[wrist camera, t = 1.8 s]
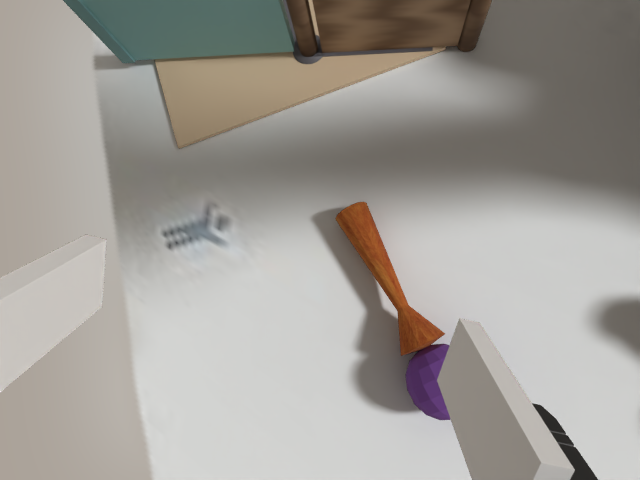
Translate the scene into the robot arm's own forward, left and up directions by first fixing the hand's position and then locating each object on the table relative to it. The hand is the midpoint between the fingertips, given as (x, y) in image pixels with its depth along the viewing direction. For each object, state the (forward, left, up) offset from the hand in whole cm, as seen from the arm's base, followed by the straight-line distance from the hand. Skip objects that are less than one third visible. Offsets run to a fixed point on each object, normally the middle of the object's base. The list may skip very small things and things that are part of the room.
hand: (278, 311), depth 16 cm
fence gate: (-15, -29, -24) cm, 40 cm away
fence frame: (-26, -13, -25) cm, 39 cm away
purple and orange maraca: (-5, +4, -26) cm, 26 cm away
